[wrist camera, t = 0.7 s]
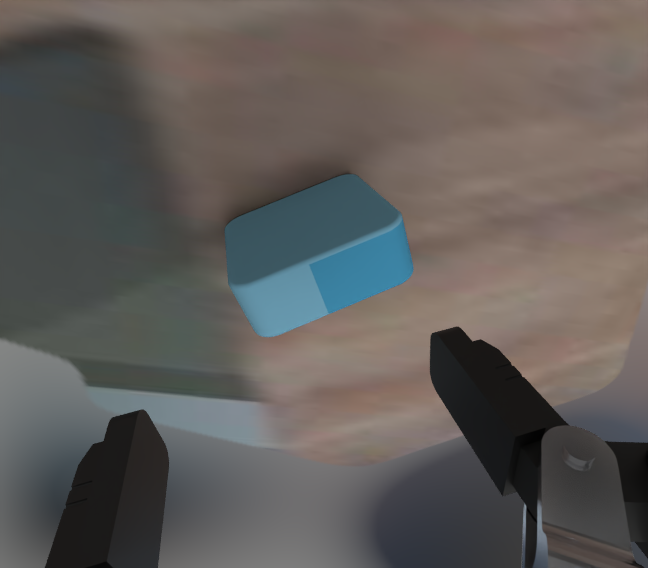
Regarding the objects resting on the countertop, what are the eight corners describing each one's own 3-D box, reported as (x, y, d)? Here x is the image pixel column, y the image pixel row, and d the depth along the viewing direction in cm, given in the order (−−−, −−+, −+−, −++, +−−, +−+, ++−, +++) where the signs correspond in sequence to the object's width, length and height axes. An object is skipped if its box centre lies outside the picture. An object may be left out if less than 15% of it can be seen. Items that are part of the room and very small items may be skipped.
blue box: (244, 264, 36) (257, 345, 26) (222, 221, 34) (227, 293, 24) (364, 215, 37) (422, 276, 27) (352, 169, 34) (410, 218, 24)
